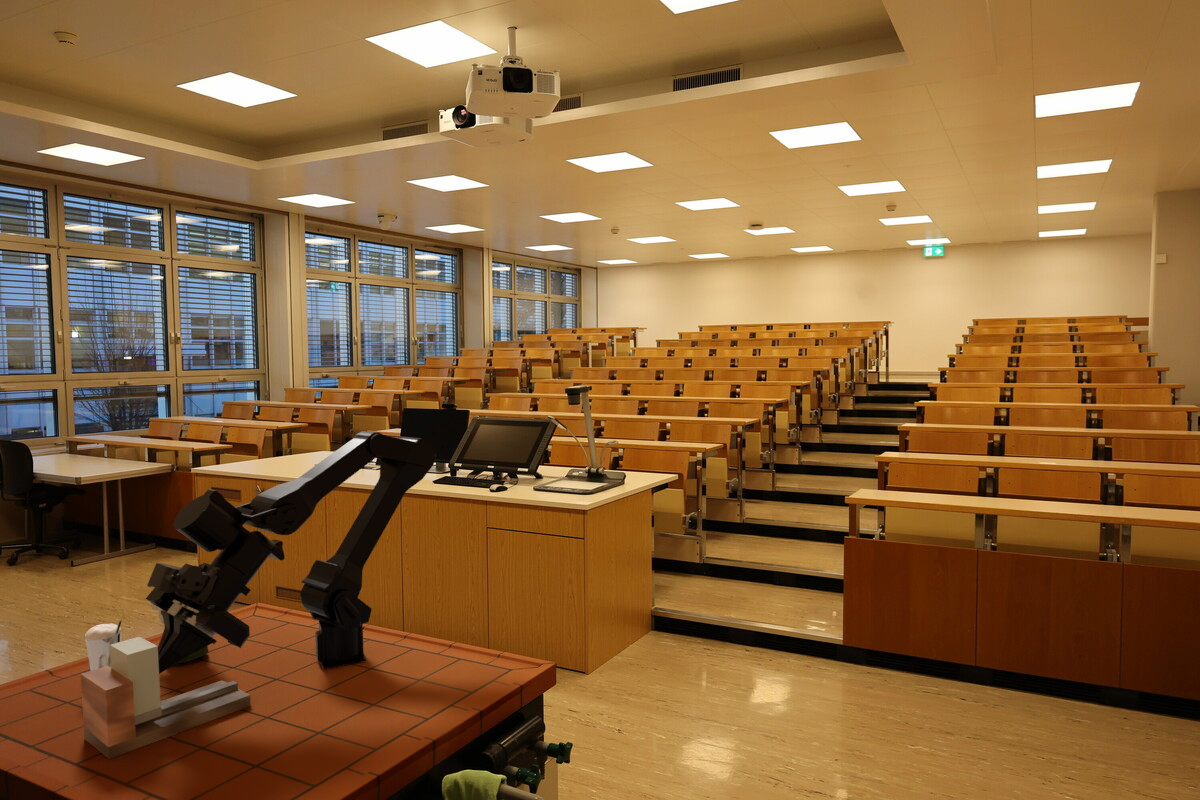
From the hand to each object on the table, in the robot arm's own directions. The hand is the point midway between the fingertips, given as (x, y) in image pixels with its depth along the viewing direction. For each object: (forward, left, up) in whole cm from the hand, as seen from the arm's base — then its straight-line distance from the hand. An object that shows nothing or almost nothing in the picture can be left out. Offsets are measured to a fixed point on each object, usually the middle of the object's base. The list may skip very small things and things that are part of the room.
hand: (152, 673), depth 100 cm
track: (-2, -1, -7) cm, 8 cm away
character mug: (-3, -24, -7) cm, 25 cm away
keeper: (+2, +1, -5) cm, 5 cm away
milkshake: (+7, -18, -7) cm, 20 cm away
